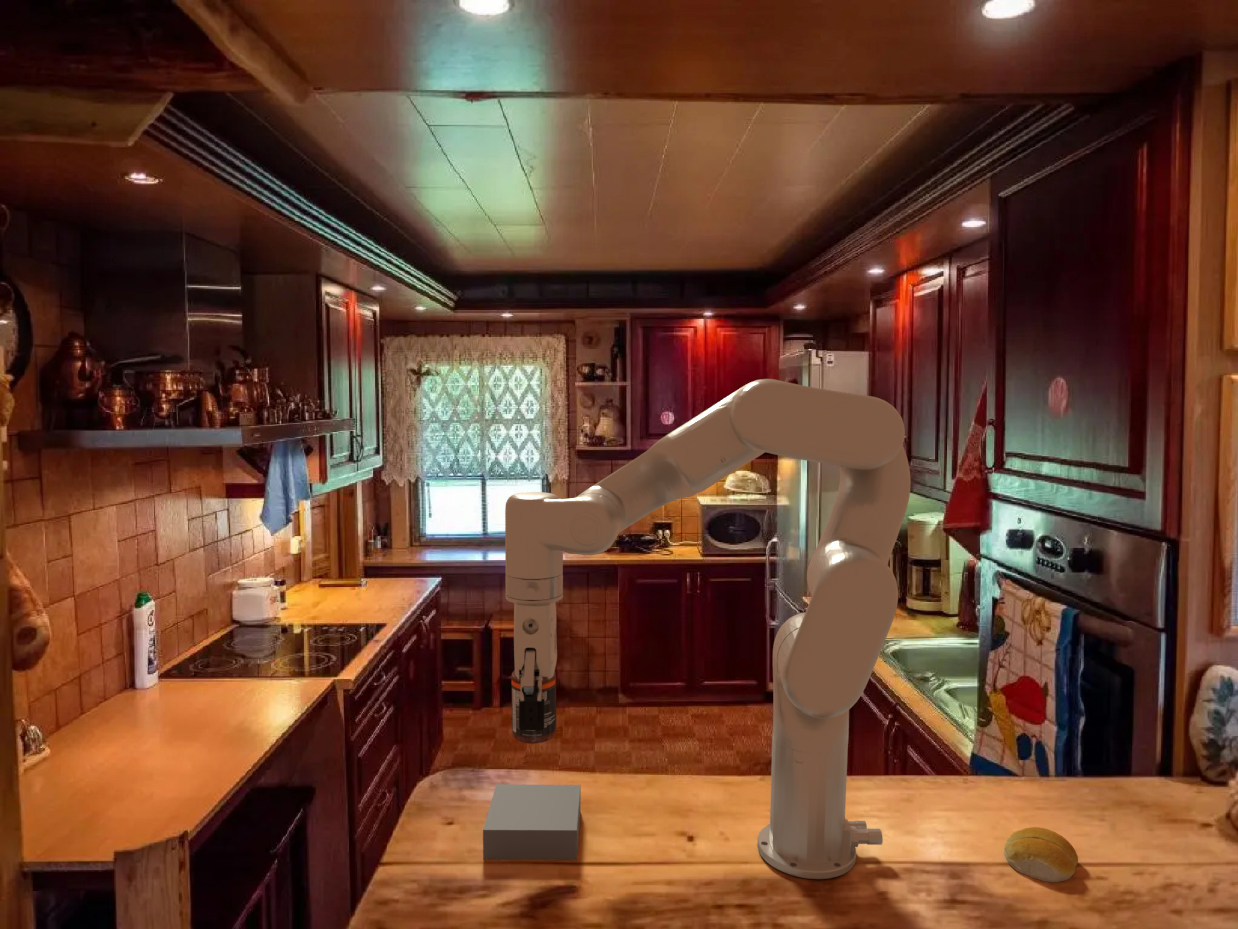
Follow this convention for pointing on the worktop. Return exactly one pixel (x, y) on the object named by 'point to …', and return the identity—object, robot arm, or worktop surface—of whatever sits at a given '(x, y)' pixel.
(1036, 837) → the bread roll
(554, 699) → the supplement bottle
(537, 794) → the pedestal
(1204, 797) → the worktop surface
